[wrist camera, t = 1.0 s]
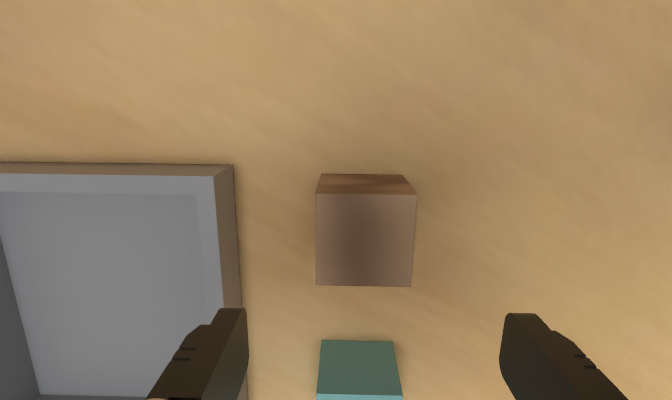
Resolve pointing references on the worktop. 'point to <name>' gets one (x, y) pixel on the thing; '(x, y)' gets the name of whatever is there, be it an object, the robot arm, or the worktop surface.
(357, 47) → the worktop surface
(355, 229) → the walnut block
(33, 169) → the tray
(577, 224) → the worktop surface
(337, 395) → the teal block
